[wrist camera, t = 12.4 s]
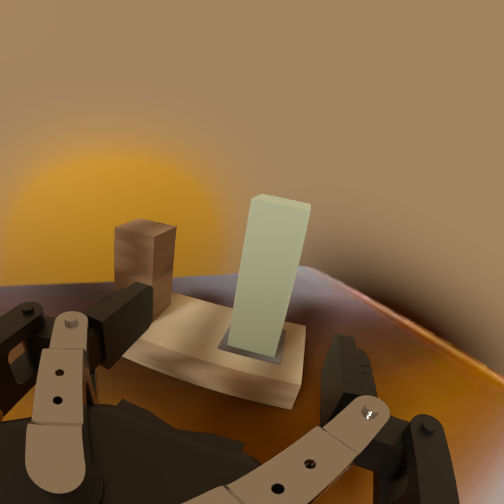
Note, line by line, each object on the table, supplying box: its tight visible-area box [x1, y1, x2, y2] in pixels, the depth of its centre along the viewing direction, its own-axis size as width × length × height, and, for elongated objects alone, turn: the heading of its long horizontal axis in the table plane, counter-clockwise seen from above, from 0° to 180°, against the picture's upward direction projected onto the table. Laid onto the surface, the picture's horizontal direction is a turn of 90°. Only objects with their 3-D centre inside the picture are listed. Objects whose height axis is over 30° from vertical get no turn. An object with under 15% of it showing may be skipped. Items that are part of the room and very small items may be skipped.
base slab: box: [114, 219, 306, 410], centre depth 24 cm, size 18×9×11 cm, turn 79°
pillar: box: [227, 194, 311, 357], centre depth 23 cm, size 4×4×12 cm
